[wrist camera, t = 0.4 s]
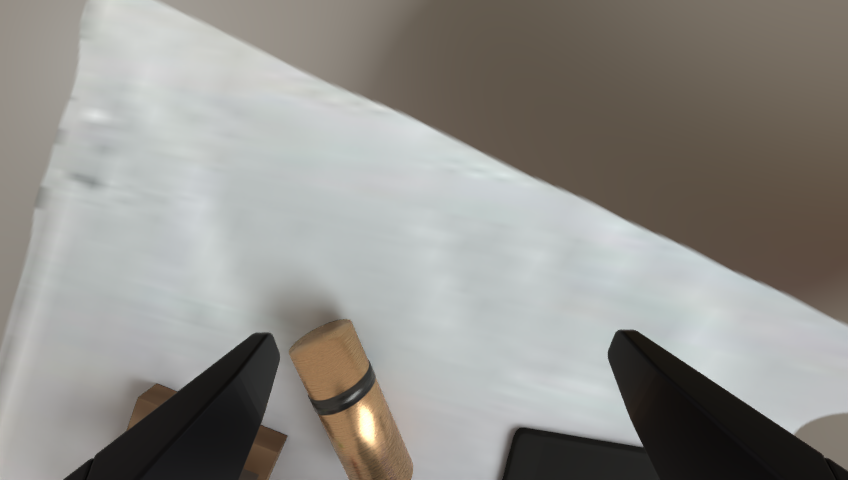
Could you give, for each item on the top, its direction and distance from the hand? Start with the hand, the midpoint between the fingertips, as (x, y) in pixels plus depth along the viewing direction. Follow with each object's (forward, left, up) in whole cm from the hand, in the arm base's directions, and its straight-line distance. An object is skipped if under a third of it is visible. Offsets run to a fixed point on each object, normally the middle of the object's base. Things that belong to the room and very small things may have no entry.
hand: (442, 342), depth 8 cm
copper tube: (-8, +8, -13) cm, 17 cm away
